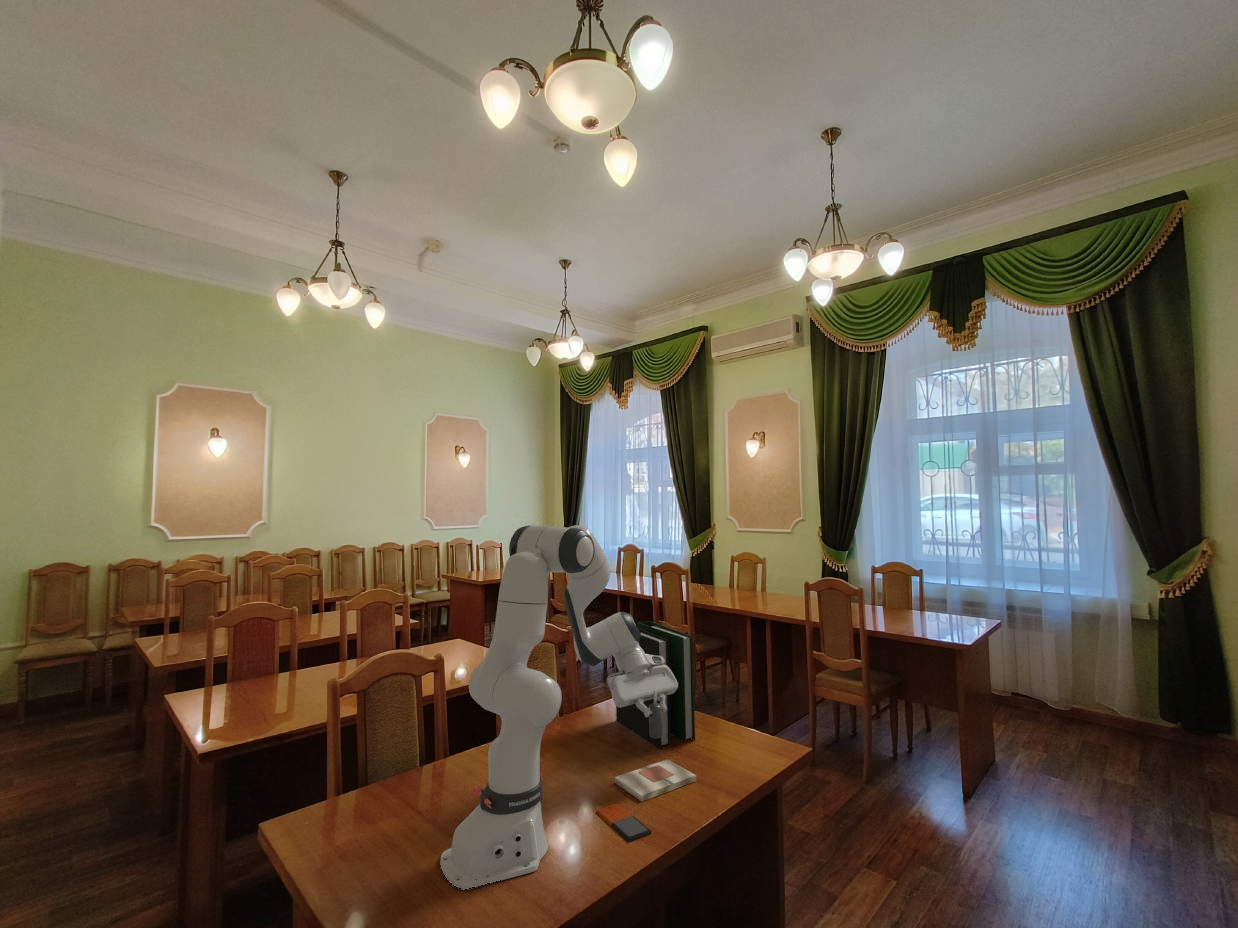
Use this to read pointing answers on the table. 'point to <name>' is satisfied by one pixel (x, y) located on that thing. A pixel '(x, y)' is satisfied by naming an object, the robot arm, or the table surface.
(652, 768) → the cream flat block
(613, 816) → the phone
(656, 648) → the binder
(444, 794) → the table surface
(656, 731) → the grey cylinder with rod
